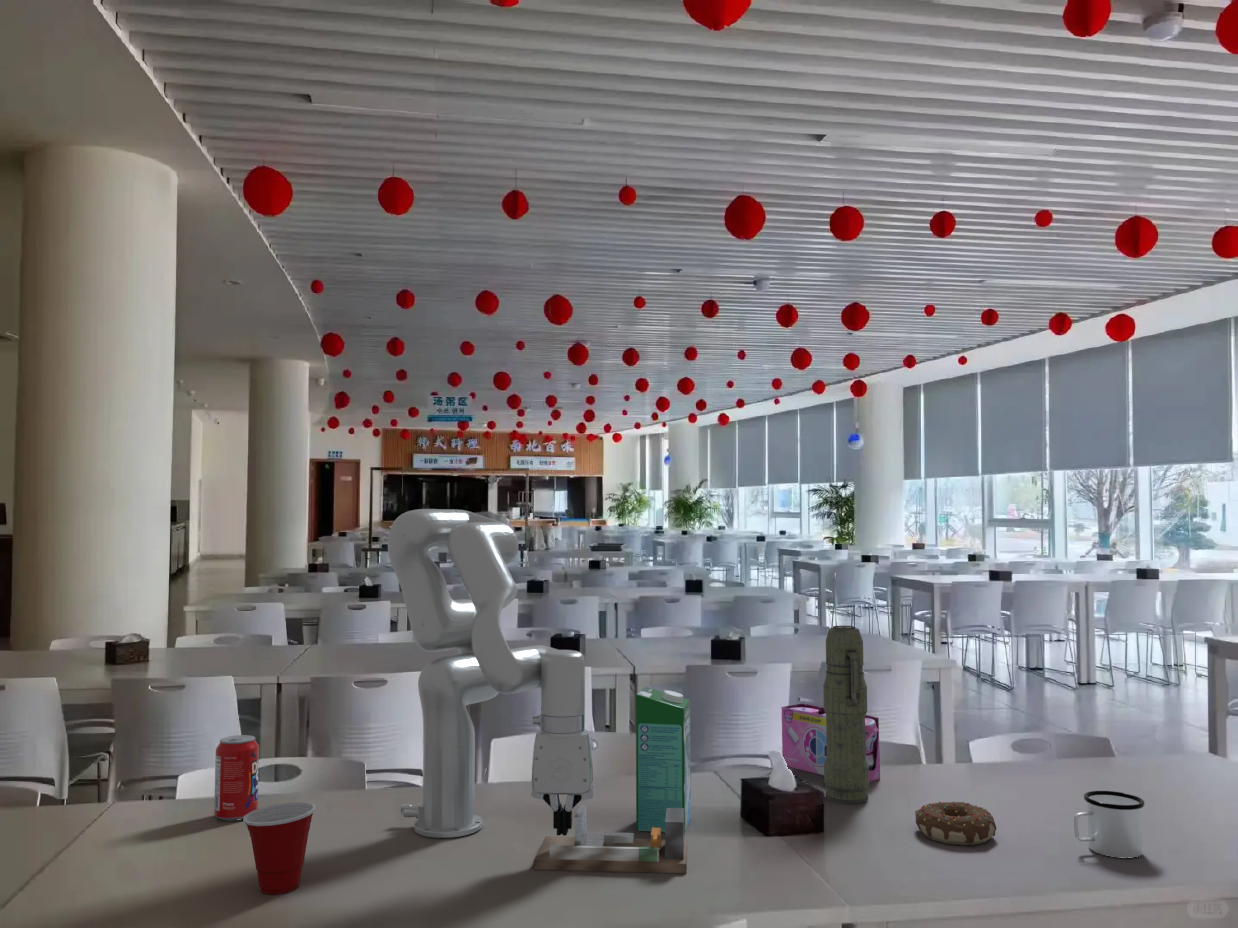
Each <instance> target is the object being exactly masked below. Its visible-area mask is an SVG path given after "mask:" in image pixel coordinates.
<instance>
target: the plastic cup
mask: <svg viewBox="0 0 1238 928" xmlns="http://www.w3.org/2000/svg"><path fill="white" fill-rule="evenodd" d="M315 810H316V804H314V803H313V802H308V801H307V802H305V801H291V802H290V801H289V802H282V803H277V804H276V803H275V804H272V805H267V806H263V807H260V808H258V809H257V810H254V811H252V812H250V813H248V814H247V815H245V816H244V818H243V820H242V821H243V823H244V824H245V825H246V827H247V830H248V832H249V837H250V840H251V845H252V846H251V847H252V854H253V858H254V863H255V869H256V871H257V872H256V873H257V879H258V887H259V889H260V892H262V893H263V894H265V895H281V894H282V895H283V894H286V893H290V892H294V891H295V890H297V888H299V886H300V885H299V884H300V882H301V876H302V871H303V866H304V862H305V857H306V849H307V846H308V840H309V839H308V838H309V832H310V829H311V822H312V817H313V815H314V813H315Z"/></svg>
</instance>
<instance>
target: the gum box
mask: <svg viewBox="0 0 1238 928" xmlns="http://www.w3.org/2000/svg"><path fill="white" fill-rule="evenodd" d="M879 719H880V717H877V716H873V715H868V714H866V716H865V742H866V761H867V763H868V766H869V783H871V782H875V781H878V780H881V757H880V756H881V755H880V753H881V752H880V751H881V750H880V725H879ZM781 741H782V742H781V745H782V748H781V749H782V750H781V754H782V756H783V757H784V759H785V761H786V763H787V765H788V766H787V767H790V768H793V769H797V770H801V771H805V772H807V773H812V774H817V775H819V776H824V763H825V761H826V758H827V738H826V714H825V711H824V706H817V705H812V704H807V703H803V702H802V703H797V704H796V703H795V704H791V705H786V706H785V705H784V706H782V707H781Z"/></svg>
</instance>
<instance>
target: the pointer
mask: <svg viewBox="0 0 1238 928" xmlns="http://www.w3.org/2000/svg"><path fill="white" fill-rule="evenodd" d="M650 839H651V847H657V848H659V850H661V839H662V832H661V828H652V831H651V832H650Z"/></svg>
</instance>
